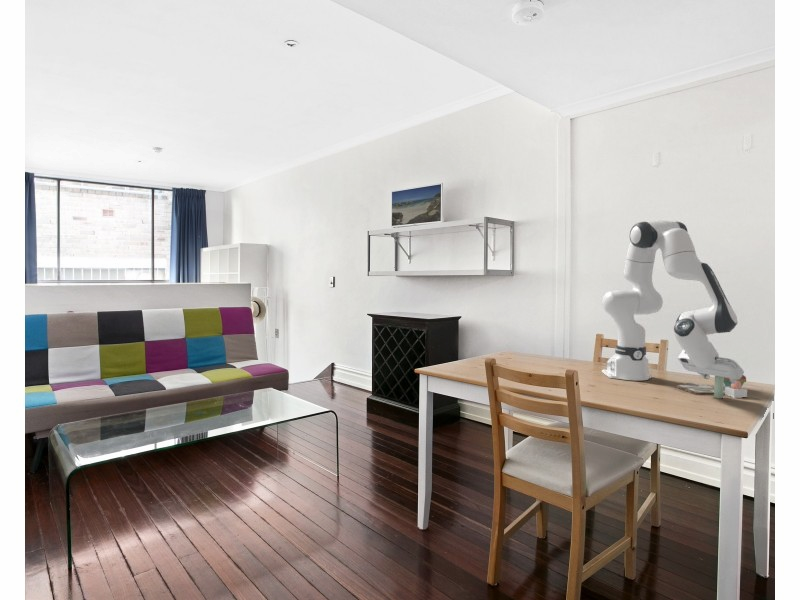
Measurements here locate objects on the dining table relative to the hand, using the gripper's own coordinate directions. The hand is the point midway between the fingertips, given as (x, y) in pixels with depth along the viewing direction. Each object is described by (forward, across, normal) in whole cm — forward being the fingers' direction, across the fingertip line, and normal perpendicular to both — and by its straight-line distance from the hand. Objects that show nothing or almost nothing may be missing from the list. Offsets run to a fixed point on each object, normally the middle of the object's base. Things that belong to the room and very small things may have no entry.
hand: (719, 380), depth 181 cm
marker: (+4, 0, +5) cm, 7 cm away
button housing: (+10, -1, -1) cm, 10 cm away
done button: (+9, -1, -2) cm, 9 cm away
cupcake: (+18, +6, -8) cm, 20 cm away
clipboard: (+8, +10, +1) cm, 13 cm away
